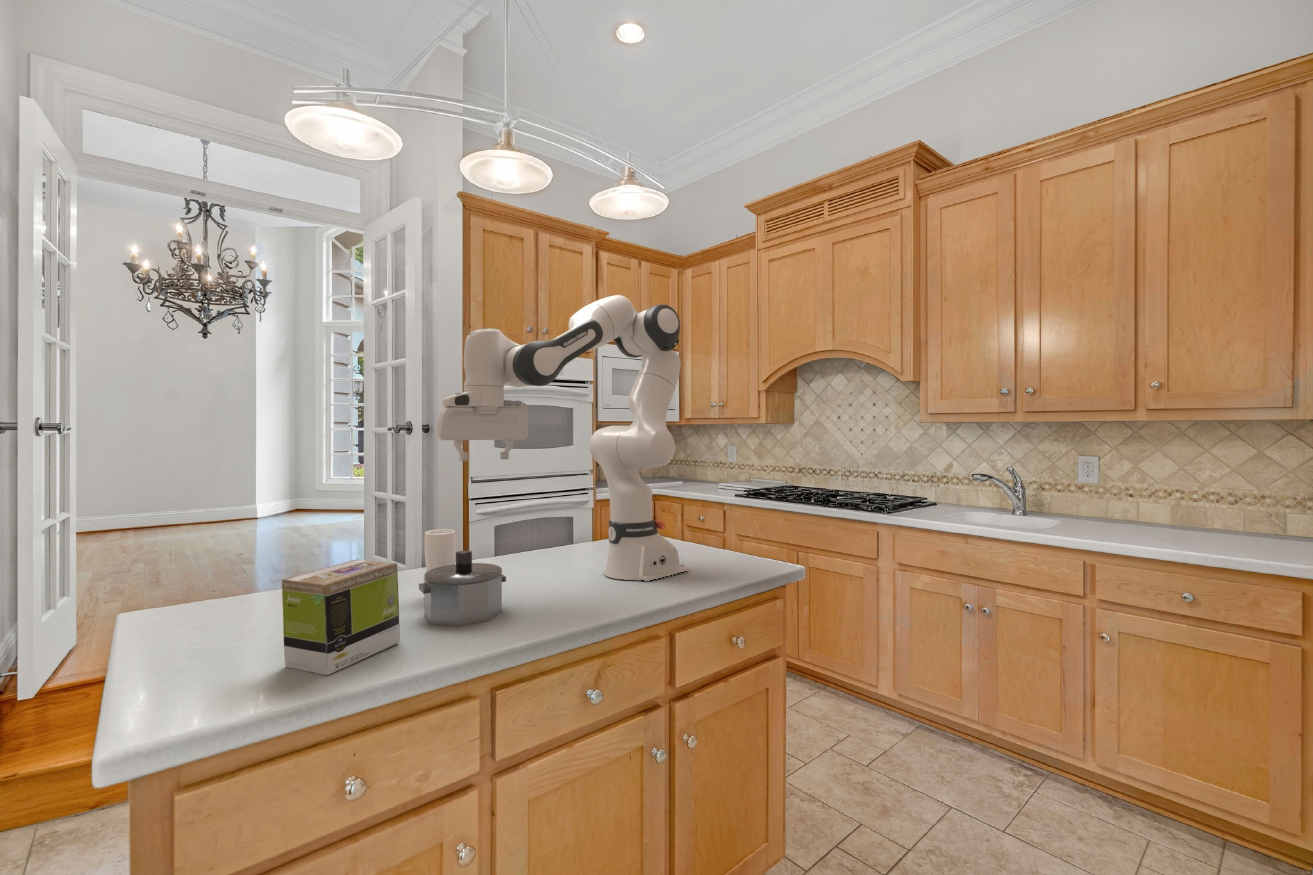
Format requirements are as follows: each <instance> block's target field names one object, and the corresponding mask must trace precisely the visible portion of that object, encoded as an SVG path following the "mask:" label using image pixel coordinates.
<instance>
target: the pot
mask: <svg viewBox="0 0 1313 875" xmlns="http://www.w3.org/2000/svg"><path fill="white" fill-rule="evenodd" d="M506 582H507V576H505V575H504V574H503V573H502V574H501V576H499V577H498V578H496V579H493V580H490V581H486V582H482V583H476V584H468V585H437V584H431V583H428V582H426V581H425V576H424V577H423V582H421V583H418V589H419V591H420V592H421V594H423V602H424V603H423V605H424V607H423V610H424V613H423V615H424V617H425V619H426V620H427V621H428V623H429V624H430V625H433V626H434V625H435V626H436V625H437V626H438V625H439V626H447V627H448V626H451V627H462V626H467V625H474V624H478V623H479V624H480V623H483V622H489V621H490V620H492V619H493V618H495V617H496V616H498V615H499V614H501V613H502V612H503V600H502V598H503V597H502V596H503V588H502V586H503V585H502V584H503V583H506Z"/></svg>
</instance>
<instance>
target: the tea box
mask: <svg viewBox="0 0 1313 875" xmlns="http://www.w3.org/2000/svg"><path fill="white" fill-rule="evenodd" d="M398 572H399V571H398V562H397V563H396V562H387V561H373V560H366V559H365V560H363V559H358V558H357V559H353V560H349V561H347V562H342V563H339V564H338V563H337V564H334V565H332V566H327V567H324V568H320V569H319V568H318V569H316V570H313V571H309V572H305V573H301V574H299V575H294V576H291V577H287V578H283V579H282V580H281V594H282V595H281V597H282V617H283V618H282V624H283V625H282V628H283V632H282V633H283V651H284V652H283V654H284V666H285V667H286V668H288V667H290V669H292V668H293V670H297V669H298V671H302V670H304V671H303V672H306V671H307V672H308V673H311V672H314V673H313V674H317V675H323V676H329V675H331V674H333V673H335V672H338V671H341V670H342V669H345V668H346V667H349V666H351V665H353V664H356V663H358V662H360V661H362V660H365V659H366V658H368V657H371V656H373V655H375V654H378V653H379V652H382V651H384V650H386V649H389V648H390V647H392V646H395V645H397V644H400V642H401V633H400V632H401V631H400V630H401V629H400V626H401V625H400V604H399V602H400V600H399V599H400V598H399V578H398V576H399V575H398Z"/></svg>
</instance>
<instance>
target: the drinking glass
mask: <svg viewBox="0 0 1313 875" xmlns="http://www.w3.org/2000/svg"><path fill="white" fill-rule="evenodd" d="M423 536H424V541H423V542H424V544H423V547H424V549H423V550H424V559H425V570H426V571H425V573H426V572H428V571H429V570H432V569H434V568H438V567H442V566H447V565H453V564H456V552H457V536H456V530H455V529H452V528H451V529H450V528H440V529H439V528H437V529H431V530H427V531H425V532H424V535H423Z"/></svg>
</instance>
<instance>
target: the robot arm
mask: <svg viewBox="0 0 1313 875" xmlns="http://www.w3.org/2000/svg"><path fill="white" fill-rule="evenodd" d="M680 333H681V320H680V317H679V315H678V313H677V311H676V310H675V309H674V308H673V307H672V306H670V305H668V304H656V305H653V306H650V307H649V308H648V309H645V310H642V311H640V312H639V311H637V310H636V308H635V307H634V305H633V303H632V301H631V300H630V299H628V297H626V296H624V295H621V294H615V295H610V296H606V297H604V298H601V299H598V300H595V301H593V302H592V303H591V302H590V303H589V304H587V305H585V306H584V307H582V308H580V309H579V310H578V311H576V312H575V313H574V314H572V316H570V317H569V320H568V330H567V331H565V332H563V333H562V334H560V335H558V336H556V337H554V338H553V339H550V340H533V341H530V342H528V343H525V344H519V343H517V342H515V341H513V340H511V339H510V338H508V337H507V336H506V335H505V334H503V333H502V331H501V330H500V329H498V328H493V327H491V328H489V327H488V328H481V329H475V330H474V331H471V332H470V333H468V334H467V336H466V338H465V342H464V350H463V369H464V373H465V379H464V383H463V391H462V392H457V393H455V394H453V395H448V396H446V397H444V398H442V401H441V402H442V407H443V408H442V409H441V410H440V412H439V415H438V420H437V430H436V431H437V432H436V435H437V437H438V439H439V440H441V441H453V446H454V447H455V449H456V451H457V452H458V454H459V456H458V457H459V458H458V460H459V461H460V462H467V461H468V460H469V453H468V452H465V451H464V450H463V448H462V446H463V445H464V441H488V440H489V441H494V440H496V441H497V440H499V441H501V440H504V444H505V445H506V446H505V448H504V451H500V453H499V454H500V458H499V459H500V460H509V459H510V452H511V450H512V448H513V446H514V443H515V442H514V440H526V439H528V436H529V423H528V415H529V413H528V412H529V408H528V405H527V404H526V403H525V402H523V401H522V400H510V399H509V400H508V399H505V385H507V386H510V387H513V388H523V387H531V386H533V387H544V386H547V385H550V384H551V383H552V382H553V381H554V380H556V379H557V377H558V376H559V374H560V373H561V372H562V370H563V369H564V367H565V366H566V365H568V364H569V363H570V362H571V361H573V360H575V359H576V358H578V357H579V356H581V355H582V354H584V353H586V352H587V351H593V350H596V349H599V348H600V347H603V346H605V345H607V344H609V343H611V342H612V341H614V343H615V344H616V347H617V348H618V350H619V352H620V353H622V354H623V355H624V356H626V357H628V358H634V359H635V358H641V359H642V361H641V366H640V369H639V371H638V373H637V376H636V378H635V381H634V383H633V385H632V388H631V390H630V393H629V395H628V398H627V405H628V408H629V409H630V412H631V413H632V414H633V415H634V416H633V417H634V418H633V421H632V423H631V424H629V425H609V426H605V427H602V428H600V429H599V428H598V429H597V430H596V431H594V433H593V434H592V435H591V437H590V442H589V451H590V455H591V457H592V458H593V459H594V460H595V461H596V462H597V464H598V465H599V466H600V468H601V470H602V472H603V474H604V477H605V479H606V483H607V488H608V492H609V510H610V512H609V516H610V517H609V520H608V529H607V531H608V532H607V533H608V534H607V535H608V542H609V543H608V553H607V559H606V560H607V561H606V564H605V569H604V572H603V574H604V576H606V577H608V578H611V579H616V580H622V579H623V581H624V580H625V581H641V580H644V581H643V582H651V581H650V580H653V579H657V580H659V579H658V578H661V579H663V578H662V577H664V578H666V577H665V576H668V577H671V576H670V575H672V574H676V575H678V574H677V573H679V572H683V571H686V570H688V571H689V569H688V566H687V565H686V564H683V563H681V562H680V556H679V552H678V549H677V548H676V546H675V545H674V544H672V543H671V542H670V541H669V540H668V539H666V538H665V537H664V536H662V535H661V534H660V533H659V531H658V529H660V530H664V529H665V528H666V523H665V521H663V520H662V521H661V520H654V519H653V493H652V492H653V491H652V489H651V488H650V486H649V485H648V484H647V483H645V481H644V480H643V479H642V477H641V475H640V473H639V472H640V471H639V469H656V468H659V467H664V466H667V465H668V464H669V463H670V462H671V461H672V459H673V457H674V455H675V451H676V442H675V439H674V437H673V435H672V433H671V432H670V431H669V428H668V427H667V413H668V410H669V407H670V406H671V402H672V398H673V396H674V393H675V391H676V387H677V384H678V381H679V377H680V372H681V367H682V366H681V364H682V363H681V362H682V361H681V358H680V356H679V355H678V354H677V352H675V351H674V349H676V348H677V345H678V344H679V342H680V341H679V337H680ZM672 576H673V575H672ZM653 581H654V580H653Z"/></svg>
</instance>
